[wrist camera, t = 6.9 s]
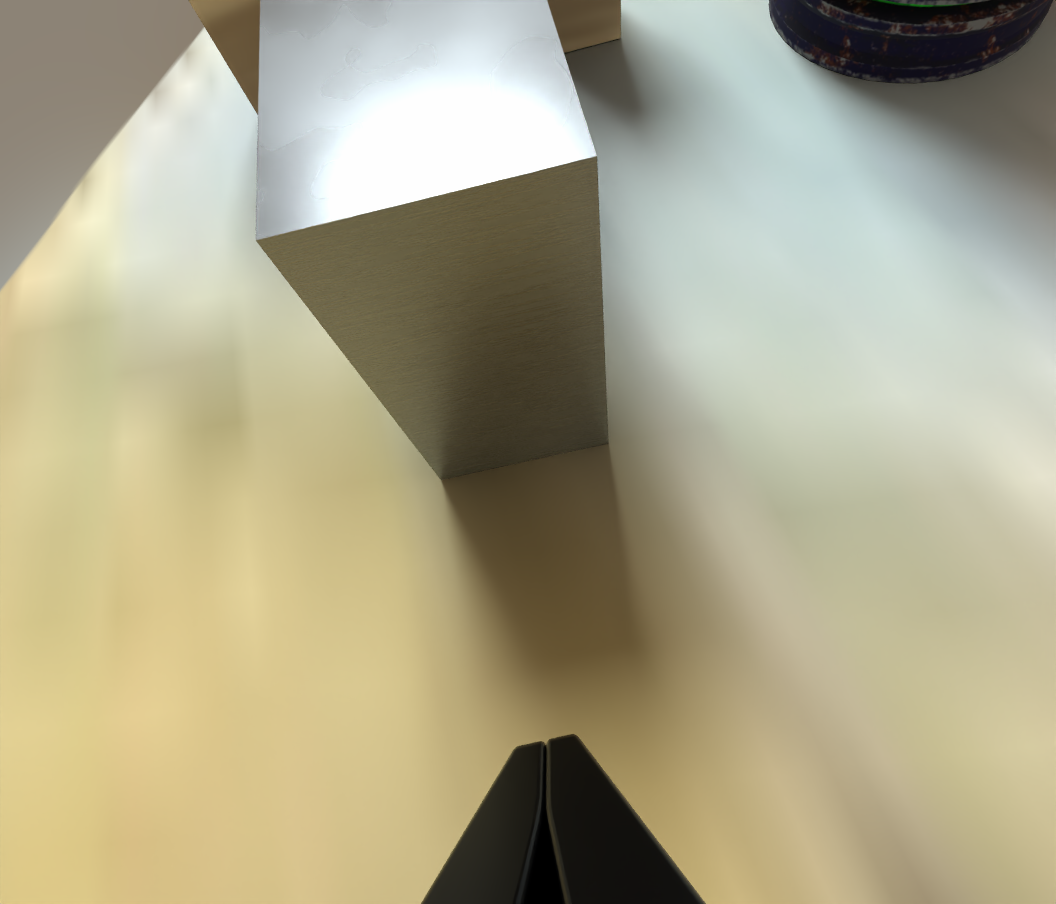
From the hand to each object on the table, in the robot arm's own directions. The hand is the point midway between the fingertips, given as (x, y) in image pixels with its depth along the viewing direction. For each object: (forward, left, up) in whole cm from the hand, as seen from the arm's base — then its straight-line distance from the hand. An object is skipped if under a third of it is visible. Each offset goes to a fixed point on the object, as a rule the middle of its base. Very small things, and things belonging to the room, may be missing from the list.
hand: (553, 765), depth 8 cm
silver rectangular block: (+17, -4, -7) cm, 19 cm away
